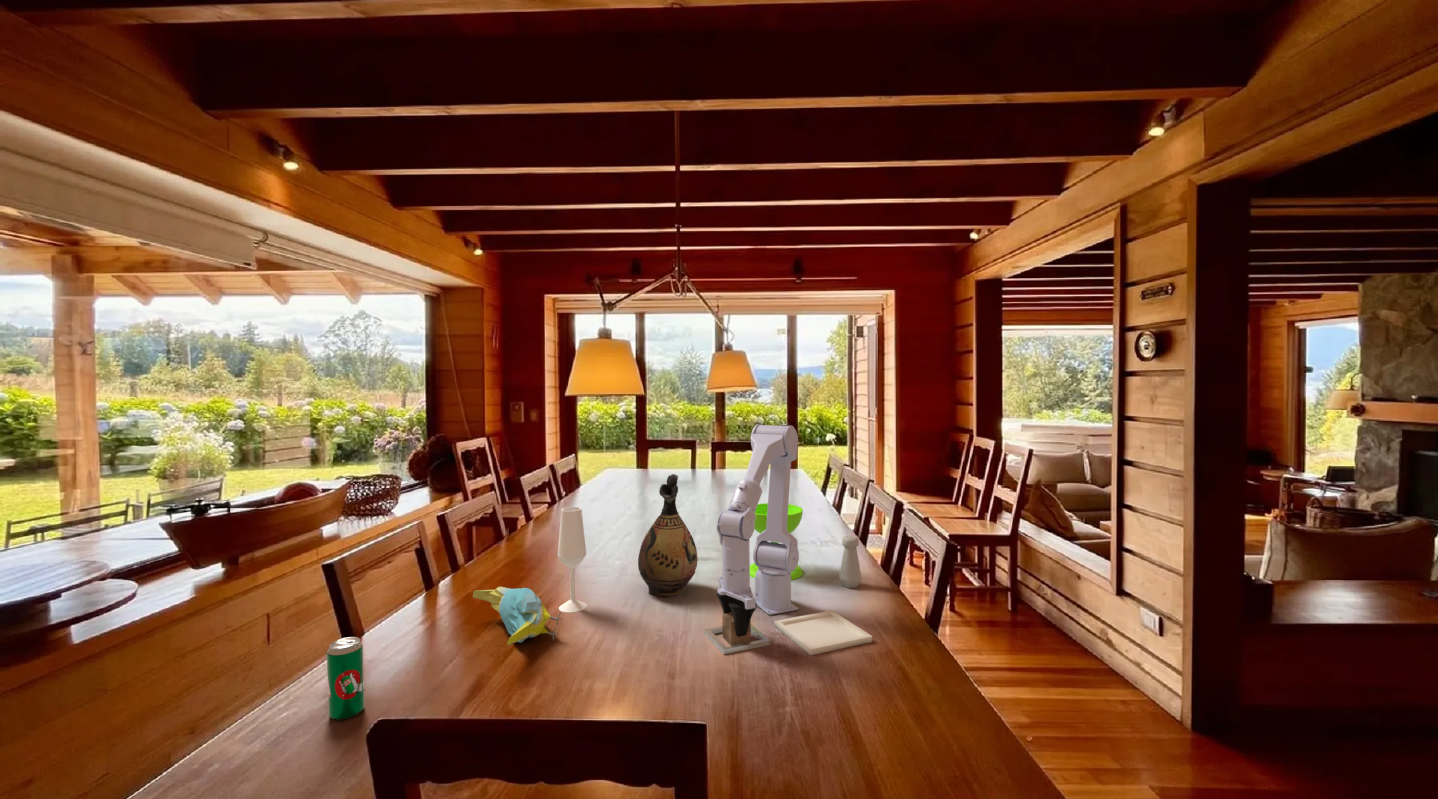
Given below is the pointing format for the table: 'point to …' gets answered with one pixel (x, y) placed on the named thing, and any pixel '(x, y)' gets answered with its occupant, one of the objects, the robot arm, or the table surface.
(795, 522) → the wineglass
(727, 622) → the walnut block
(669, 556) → the ceramic jug
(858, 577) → the salt shaker
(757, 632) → the frame
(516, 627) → the decorative bird
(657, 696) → the table surface
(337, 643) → the soda can
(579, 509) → the champagne flute
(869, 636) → the tray
